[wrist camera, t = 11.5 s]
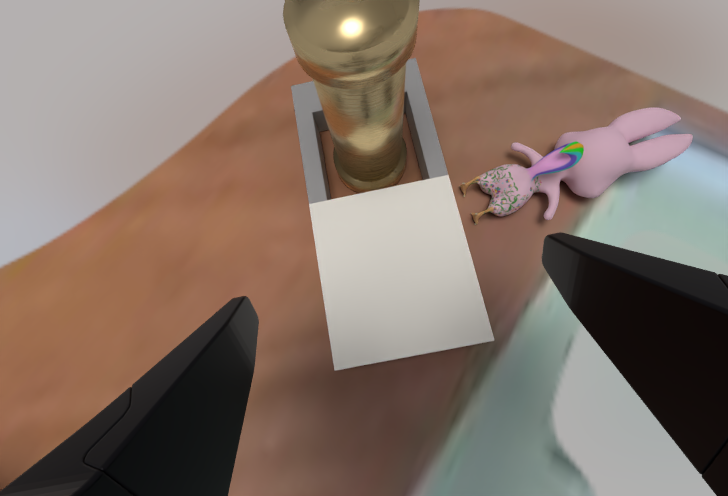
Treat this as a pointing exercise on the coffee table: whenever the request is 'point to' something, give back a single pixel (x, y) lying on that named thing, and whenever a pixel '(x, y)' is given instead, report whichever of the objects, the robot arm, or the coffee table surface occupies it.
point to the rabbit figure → (583, 162)
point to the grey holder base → (391, 249)
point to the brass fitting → (358, 80)
